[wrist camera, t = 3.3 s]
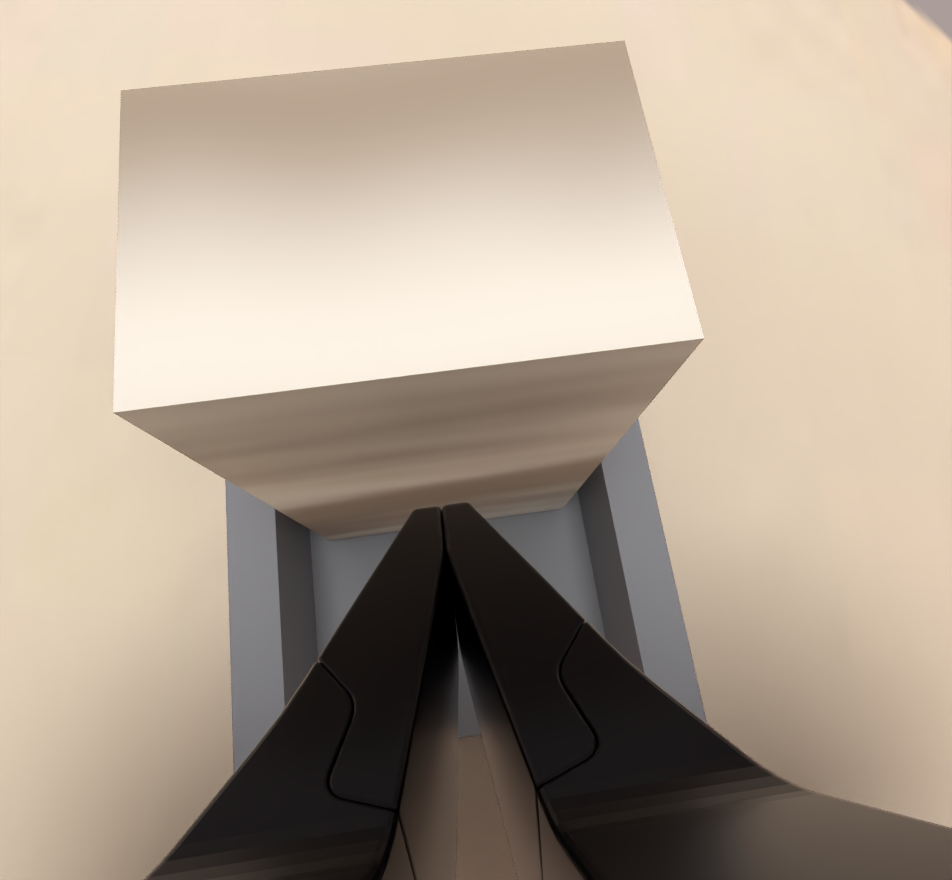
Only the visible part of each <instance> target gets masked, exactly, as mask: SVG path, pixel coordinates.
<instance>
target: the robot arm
mask: <svg viewBox="0 0 952 880" xmlns="http://www.w3.org/2000/svg"><path fill="white" fill-rule="evenodd" d="M456 627H457V628H456ZM457 634H458V637H457ZM458 640H459V647H460V653H461V657H462V662H463V666H464V670H465V674H466V678H467V682H468V686H469V690H470V694H471V697H472V701H473V705H474V709H475V713H476V717H477V721H478V725H479V729H480V733H481V737H482V741H483V745H484V748H485V752H486V756H487V760H488V764H489V768H490V772H491V776H492V780H493V784H494V788H495V792H496V795H497V799H498V803H499V807H500V811H501V815H502V819H503V823H504V827H505V831H506V835H507V839H508V842H509V846H510V850H511V854H512V858H513V862H514V866H515V870H516V874H517V878H518V880H952V828H949V827H945V826H942V825H938V824H934V823H930V822H926V821H923V820H919V819H915V818H911V817H907V816H903V815H900V814H896V813H892V812H888V811H884V810H881V809H877V808H873V807H869V806H865V805H861V804H858V803H854V802H850V801H846V800H842V799H839V798H835V797H831V796H827V795H823V794H820V793H816V792H813V791H810V790H807V789H804V788H802V787H800V786H797V785H795V784H793V783H791V782H789V781H787V780H785V779H783V778H781V777H779V776H778V775H776V774H774V773H773V772H771V771H770V770H768V769H766V768H765V767H763V766H762V765H760V764H759V763H757V762H756V761H755V760H753V759H752V758H751V757H749V756H748V755H746V754H745V753H744V752H743V751H741V750H740V749H739V748H737V747H736V746H735V745H734V744H732V743H731V742H730V741H729V740H727V739H726V738H725V737H723V736H722V735H721V734H720V733H718V732H717V731H716V730H714V729H713V728H712V727H711V726H709V725H708V724H707V723H705V722H704V721H703V720H702V719H700V718H699V717H698V716H697V715H695V714H694V713H693V712H691V711H690V710H689V709H688V708H686V707H685V706H684V705H682V704H681V703H680V702H679V701H677V700H676V699H675V698H673V697H672V696H671V695H670V694H668V693H667V692H666V691H665V690H663V689H662V688H661V687H660V686H658V685H657V684H656V683H655V682H653V681H652V680H651V679H650V678H649V677H647V676H646V675H645V674H644V673H643V672H641V671H640V670H639V669H638V668H637V667H635V666H634V665H633V664H632V663H630V662H629V661H628V660H627V659H626V658H625V657H624V656H623V655H622V654H621V653H620V652H619V651H618V650H617V649H616V648H614V647H613V646H612V645H611V644H610V643H609V642H608V641H607V640H606V639H605V638H604V637H603V636H602V635H601V634H600V633H599V632H598V631H597V630H596V629H595V628H594V627H593V626H592V625H591V624H590V623H588V622H586V620H585V618H584V617H583V616H582V615H581V614H580V613H579V612H578V611H577V610H576V609H575V608H574V607H573V606H572V605H571V604H570V603H569V602H568V601H567V600H566V599H565V598H564V597H563V596H562V595H561V594H560V593H559V592H558V591H557V590H556V589H555V588H554V587H553V586H552V585H551V584H550V583H549V582H548V581H547V580H546V579H545V578H544V577H543V576H542V575H541V574H540V573H539V572H538V571H537V570H536V569H535V568H534V567H533V566H532V565H531V564H530V563H529V562H528V561H527V560H526V559H525V558H524V557H523V556H522V555H521V554H520V553H519V552H518V551H517V550H516V549H515V548H514V547H513V546H512V545H511V544H510V543H509V542H508V541H507V540H506V539H505V538H504V537H503V536H502V535H501V534H500V533H499V532H498V531H497V530H496V529H495V528H494V527H493V526H492V525H491V524H490V523H489V522H488V521H487V520H486V519H485V518H484V517H483V516H482V515H481V514H480V513H479V512H478V511H477V510H476V509H475V508H474V507H473V506H472V505H471V504H470V503H467V502H463V503H456V504H449V505H444V506H443V508H442V511H441V508H440V507H438V506H434V507H427V508H419V509H415V510H413V511H412V513H411V514H410V516H409V517H408V519H407V521H406V522H405V524H404V525H403V527H402V528H401V530H400V531H399V533H398V534H397V536H396V538H395V539H394V541H393V542H392V544H391V545H390V547H389V548H388V550H387V552H386V553H385V555H384V556H383V558H382V559H381V561H380V562H379V564H378V566H377V567H376V569H375V570H374V572H373V573H372V575H371V576H370V578H369V580H368V581H367V583H366V584H365V586H364V587H363V589H362V590H361V592H360V594H359V595H358V597H357V598H356V600H355V601H354V603H353V604H352V606H351V608H350V609H349V611H348V612H347V614H346V615H345V617H344V618H343V620H342V621H341V623H340V625H339V626H338V628H337V629H336V631H335V632H334V634H333V635H332V637H331V639H330V640H329V642H328V643H327V645H326V646H325V648H324V649H323V651H322V653H321V654H320V656H319V657H318V662H315V663H314V664H313V666H312V668H311V669H310V671H309V672H308V674H307V675H306V677H305V679H304V680H303V682H302V683H301V685H300V686H299V688H298V689H297V690H296V692H295V693H294V695H293V696H292V698H291V699H290V701H289V702H288V704H287V705H286V706H285V708H284V709H283V711H282V712H281V714H280V715H279V716H278V718H277V719H276V720H275V722H274V723H273V724H272V726H271V727H270V728H269V729H268V731H267V732H266V733H265V735H264V736H263V737H262V739H261V740H260V741H259V742H258V744H257V745H256V746H255V748H254V749H253V750H252V752H251V753H250V754H249V755H248V756H247V758H246V759H245V760H244V761H243V763H242V764H241V765H240V766H239V768H238V769H237V770H236V771H235V773H234V774H233V775H232V776H231V777H230V779H229V780H228V781H227V782H226V784H225V785H224V786H223V787H222V789H221V790H220V791H219V792H218V793H217V795H216V796H215V797H214V798H213V800H212V801H211V802H210V803H209V805H208V806H207V807H206V808H205V810H204V811H203V812H202V813H201V814H200V816H199V817H198V818H197V819H196V821H195V822H194V823H193V824H192V826H191V827H190V828H189V829H188V830H187V832H186V833H185V834H184V835H183V837H182V838H181V839H180V840H179V842H178V843H177V844H176V845H175V846H174V848H173V849H172V850H171V851H170V852H169V853H168V855H167V856H166V857H165V858H164V859H163V860H162V861H161V863H160V864H159V865H158V866H157V867H156V868H155V869H154V870H153V871H152V872H151V873H150V874H149V875H148V876H147V877H146V878H145V879H144V880H456V844H457V772H458V699H459V649H458Z"/></svg>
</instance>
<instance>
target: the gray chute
mask: <svg viewBox="0 0 952 880" xmlns="http://www.w3.org/2000/svg"><path fill="white" fill-rule="evenodd" d="M226 514H227V550H228V585H229V620H230V655H231V691H232V726H233V761H234V773H235V771H236V770H237V769H238V768H239V766H240V765H241V764H242V763H243V761H244V760H245V759H246V758H247V756H248V755H249V754H250V753H251V752H252V750H253V749H254V748H255V746H256V745H257V744H258V742H259V741H260V740H261V739H262V737H263V736H264V735H265V733H266V732H267V731H268V729H269V728H270V727H271V726H272V724H273V723H274V722H275V720H276V719H277V718H278V716H279V715H280V714H281V712H282V711H283V709H284V708H285V706H286V705H287V704H288V702H289V701H290V699H291V698H292V696H293V695H294V693H295V692H296V690H297V689H298V688H299V686H300V685H301V683H302V682H303V680H304V679H305V677H306V675H307V674H308V672H309V671H310V669H311V668H312V666H313V664H314V663H315V662H318V657H319V656H320V654H321V653H322V651H323V649H324V648H325V646H326V645H327V643H328V642H329V640H330V639H331V637H332V635H333V634H334V632H335V631H336V629H337V628H338V626H339V625H340V623H341V621H342V620H343V618H344V617H345V615H346V614H347V612H348V611H349V609H350V608H351V606H352V604H353V603H354V601H355V600H356V598H357V597H358V595H359V594H360V592H361V590H362V589H363V587H364V586H365V584H366V583H367V581H368V580H369V578H370V576H371V575H372V573H373V572H374V570H375V569H376V567H377V566H378V564H379V562H380V561H381V559H382V558H383V556H384V555H385V553H386V552H387V550H388V548H389V547H390V545H391V544H392V542H393V541H394V539H395V538H396V536H397V534H398V533H399V531H398V532H391V533H384V534H376V535H369V536H362V537H355V538H348V539H340V540H333V541H329V540H327V539H325V538H324V537H322V536H320V535H319V534H317V533H315V532H313V531H312V530H310V529H308V528H307V527H305V526H303V525H302V524H300V523H298V522H297V521H295V520H293V519H292V518H290V517H288V516H287V515H285V514H283V513H281V512H280V511H278V510H276V509H275V508H273V507H271V506H270V505H268V504H266V503H265V502H263V501H261V500H260V499H258V498H256V497H255V496H253V495H251V494H249V493H248V492H246V491H244V490H243V489H241V488H239V487H238V486H236V485H234V484H233V483H231V482H229V481H228V480H226ZM486 520H487V521H488V522H489V523H490V524H491V525H492V526H493V527H494V528H495V529H496V530H497V531H498V532H499V533H500V534H501V535H502V536H503V537H504V538H505V539H506V540H507V541H508V542H509V543H510V544H511V545H512V546H513V547H514V548H515V549H516V550H517V551H518V552H519V553H520V554H521V555H522V556H523V557H524V558H525V559H526V560H527V561H528V562H529V563H530V564H531V565H532V566H533V567H534V568H535V569H536V570H537V571H538V572H539V573H540V574H541V575H542V576H543V577H544V578H545V579H546V580H547V581H548V582H549V583H550V584H551V585H552V586H553V587H554V588H555V589H556V590H557V591H558V592H559V593H560V594H561V595H562V596H563V597H564V598H565V599H566V600H567V601H568V602H569V603H570V604H571V605H572V606H573V607H574V608H575V609H576V610H577V611H578V612H579V613H580V614H581V615H582V616H583V617H584V618H585V620H586V622H588V623H590V624H591V625H592V626H593V627H594V628H595V629H596V630H597V631H598V632H599V633H600V634H601V635H602V636H603V637H604V638H605V639H606V640H607V641H608V642H609V643H610V644H611V645H612V646H613V647H614V648H616V649H617V650H618V651H619V652H620V653H621V654H622V655H623V656H624V657H625V658H626V659H627V660H628V661H629V662H630V663H632V664H633V665H634V666H635V667H637V668H638V669H639V670H640V671H641V672H643V673H644V674H645V675H646V676H647V677H649V678H650V679H651V680H652V681H653V682H655V683H656V684H657V685H658V686H660V687H661V688H662V689H663V690H665V691H666V692H667V693H668V694H670V695H671V696H672V697H673V698H675V699H676V700H677V701H679V702H680V703H681V704H682V705H684V706H685V707H686V708H688V709H689V710H690V711H691V712H693V713H694V714H695V715H697V716H698V717H699V718H700V719H702V720H703V721H704V722H705V723H707V722H706V717H705V713H704V708H703V704H702V700H701V695H700V691H699V686H698V682H697V677H696V673H695V669H694V664H693V660H692V655H691V651H690V647H689V642H688V638H687V633H686V629H685V624H684V620H683V616H682V611H681V607H680V602H679V598H678V593H677V589H676V585H675V580H674V576H673V571H672V567H671V562H670V558H669V554H668V549H667V545H666V540H665V536H664V532H663V527H662V523H661V518H660V514H659V509H658V505H657V501H656V496H655V492H654V487H653V483H652V478H651V474H650V470H649V465H648V461H647V456H646V452H645V447H644V443H643V439H642V434H641V430H640V425H639V421H638V418H637V420H636V421H635V422H634V423H633V424H632V426H631V427H630V428H629V429H628V430H627V432H626V433H625V434H624V435H623V436H622V438H621V439H620V440H619V441H618V442H617V444H616V445H615V446H614V447H613V448H612V450H611V451H610V452H609V453H608V454H607V456H606V457H605V458H604V459H603V460H602V462H601V463H600V464H599V465H598V466H597V468H596V469H595V470H594V471H593V472H592V474H591V475H590V476H589V477H588V478H587V480H586V481H585V482H584V483H583V484H582V486H581V487H580V488H579V489H578V490H577V492H576V493H575V494H574V495H573V496H572V498H571V499H570V500H569V501H568V502H567V504H566V505H565V506H564V507H563V508H562V509H557V510H549V511H542V512H535V513H528V514H521V515H513V516H506V517H499V518H492V519H486ZM456 628H457V627H456ZM457 637H458V634H457ZM458 649H459V699H458V738H463V737H469V736H476V735H481V733H480V729H479V725H478V721H477V717H476V713H475V709H474V705H473V701H472V697H471V694H470V690H469V686H468V682H467V678H466V674H465V670H464V666H463V662H462V657H461V653H460V647H459V640H458Z"/></svg>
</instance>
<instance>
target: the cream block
mask: <svg viewBox="0 0 952 880" xmlns="http://www.w3.org/2000/svg"><path fill="white" fill-rule="evenodd" d="M703 339H704V336H703V332H702V329H701V325H700V321H699V318H698V314H697V310H696V306H695V303H694V299H693V295H692V291H691V288H690V284H689V280H688V276H687V273H686V269H685V265H684V262H683V258H682V254H681V250H680V247H679V243H678V239H677V235H676V232H675V228H674V224H673V220H672V217H671V213H670V209H669V206H668V202H667V198H666V194H665V191H664V187H663V183H662V179H661V176H660V172H659V168H658V165H657V161H656V157H655V153H654V150H653V146H652V142H651V138H650V135H649V131H648V127H647V123H646V120H645V116H644V112H643V109H642V105H641V101H640V97H639V94H638V90H637V86H636V82H635V79H634V75H633V71H632V67H631V64H630V60H629V56H628V53H627V49H626V45H625V41H616V42H606V43H596V44H586V45H576V46H566V47H556V48H546V49H536V50H526V51H515V52H505V53H495V54H485V55H475V56H465V57H455V58H445V59H435V60H425V61H414V62H404V63H394V64H384V65H374V66H364V67H354V68H344V69H334V70H324V71H314V72H303V73H293V74H283V75H273V76H263V77H253V78H243V79H233V80H223V81H213V82H202V83H192V84H182V85H172V86H162V87H152V88H142V89H132V90H122V91H121V110H120V150H119V191H118V232H117V272H116V313H115V354H114V395H113V413H115V414H116V415H118V416H120V417H121V418H123V419H125V420H126V421H128V422H130V423H132V424H133V425H135V426H137V427H138V428H140V429H142V430H143V431H145V432H147V433H148V434H150V435H152V436H153V437H155V438H157V439H158V440H160V441H162V442H164V443H165V444H167V445H169V446H170V447H172V448H174V449H175V450H177V451H179V452H180V453H182V454H184V455H185V456H187V457H189V458H190V459H192V460H194V461H196V462H197V463H199V464H201V465H202V466H204V467H206V468H207V469H209V470H211V471H212V472H214V473H216V474H217V475H219V476H221V477H223V478H224V479H226V480H228V481H229V482H231V483H233V484H234V485H236V486H238V487H239V488H241V489H243V490H244V491H246V492H248V493H249V494H251V495H253V496H255V497H256V498H258V499H260V500H261V501H263V502H265V503H266V504H268V505H270V506H271V507H273V508H275V509H276V510H278V511H280V512H281V513H283V514H285V515H287V516H288V517H290V518H292V519H293V520H295V521H297V522H298V523H300V524H302V525H303V526H305V527H307V528H308V529H310V530H312V531H313V532H315V533H317V534H319V535H320V536H322V537H324V538H325V539H327V540H329V541H333V540H340V539H348V538H355V537H362V536H369V535H376V534H384V533H391V532H398V531H400V530H401V528H402V527H403V525H404V524H405V522H406V521H407V519H408V517H409V516H410V514H411V513H412V511H413V510H415V509H419V508H427V507H434V506H438V507H440V508H441V511H442V508H443V506H444V505H449V504H456V503H463V502H467V503H470V504H471V505H472V506H473V507H474V508H475V509H476V510H477V511H478V512H479V513H480V514H481V515H482V516H483V517H484V518H485V519H492V518H499V517H506V516H513V515H521V514H528V513H535V512H542V511H549V510H557V509H562V508H563V507H564V506H565V505H566V504H567V502H568V501H569V500H570V499H571V498H572V496H573V495H574V494H575V493H576V492H577V490H578V489H579V488H580V487H581V486H582V484H583V483H584V482H585V481H586V480H587V478H588V477H589V476H590V475H591V474H592V472H593V471H594V470H595V469H596V468H597V466H598V465H599V464H600V463H601V462H602V460H603V459H604V458H605V457H606V456H607V454H608V453H609V452H610V451H611V450H612V448H613V447H614V446H615V445H616V444H617V442H618V441H619V440H620V439H621V438H622V436H623V435H624V434H625V433H626V432H627V430H628V429H629V428H630V427H631V426H632V424H633V423H634V422H635V421H636V420H637V418H638V417H639V416H640V415H641V414H642V412H643V411H644V410H645V409H646V408H647V406H648V405H649V404H650V403H651V402H652V400H653V399H654V398H655V397H656V395H657V394H658V393H659V392H660V391H661V389H662V388H663V387H664V386H665V385H666V383H667V382H668V381H669V380H670V379H671V377H672V376H673V375H674V374H675V373H676V371H677V370H678V369H679V368H680V367H681V365H682V364H683V363H684V362H685V361H686V359H687V358H688V357H689V356H690V355H691V353H692V352H693V351H694V350H695V349H696V347H697V346H698V345H699V344H700V343H701V341H702V340H703Z"/></svg>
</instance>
